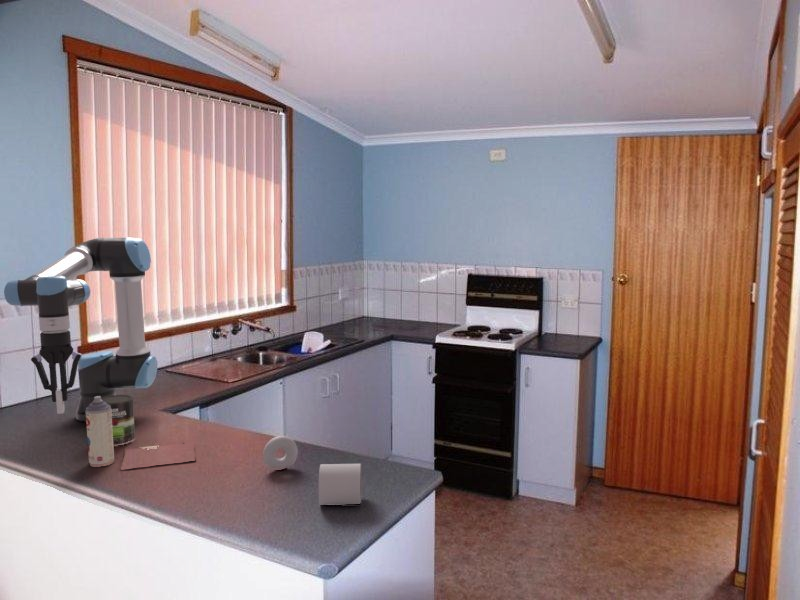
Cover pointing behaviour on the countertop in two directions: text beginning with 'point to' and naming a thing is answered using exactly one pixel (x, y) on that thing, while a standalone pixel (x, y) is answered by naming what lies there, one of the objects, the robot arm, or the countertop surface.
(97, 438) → the aerosol can
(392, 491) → the countertop surface
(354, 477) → the toilet paper
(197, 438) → the countertop surface
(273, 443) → the donut
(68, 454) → the countertop surface
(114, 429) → the coffee can
